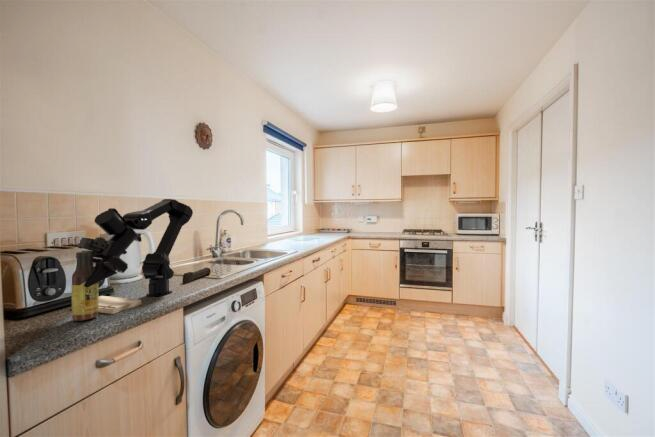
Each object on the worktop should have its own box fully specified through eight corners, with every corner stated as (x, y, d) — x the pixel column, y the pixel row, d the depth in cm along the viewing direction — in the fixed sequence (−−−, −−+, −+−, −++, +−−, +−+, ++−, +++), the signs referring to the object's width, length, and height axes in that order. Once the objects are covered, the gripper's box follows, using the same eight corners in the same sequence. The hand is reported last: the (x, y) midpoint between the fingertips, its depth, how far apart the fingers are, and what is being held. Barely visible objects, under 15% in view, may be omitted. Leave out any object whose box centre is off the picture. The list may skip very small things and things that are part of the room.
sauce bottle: (89, 321, 85) (86, 253, 84) (66, 322, 85) (63, 253, 84) (104, 313, 92) (102, 250, 91) (83, 314, 91) (81, 250, 91)
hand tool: (203, 274, 149) (203, 265, 149) (210, 275, 148) (210, 266, 148) (177, 284, 130) (177, 274, 130) (185, 284, 130) (185, 274, 129)
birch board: (102, 299, 107) (102, 295, 107) (141, 304, 102) (141, 299, 102) (70, 309, 97) (69, 304, 97) (111, 314, 92) (111, 309, 92)
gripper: (81, 226, 95) (38, 267, 85) (115, 228, 87) (71, 273, 77) (109, 247, 102) (72, 287, 93) (143, 251, 94) (106, 294, 85)
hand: (79, 285), depth 87 cm, fingers closed on sauce bottle, 6 cm apart
